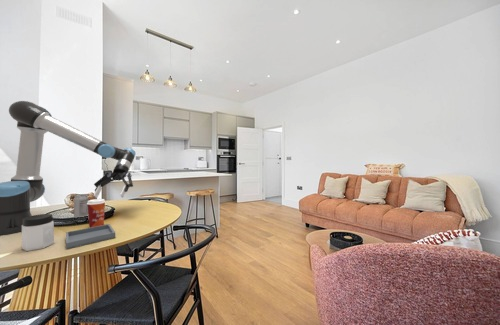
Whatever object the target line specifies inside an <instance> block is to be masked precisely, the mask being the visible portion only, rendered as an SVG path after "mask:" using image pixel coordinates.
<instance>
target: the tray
mask: <svg viewBox="0 0 500 325" xmlns="http://www.w3.org/2000/svg"><path fill="white" fill-rule="evenodd" d="M112 239H116V231H115V230H114V228H113V227H112V225H111V223H107V224H104V225H101V226H96V227H91V228H90V227H87V228H81V229H75V230H71V231H66V232H65V249H66V250H70V249H74V248H78V247H82V246H86V245H91V244H95V243H100V242H103V241H107V240H112Z"/></svg>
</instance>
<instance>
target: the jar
mask: <svg viewBox="0 0 500 325" xmlns="http://www.w3.org/2000/svg"><path fill="white" fill-rule="evenodd" d="M53 219H54V217H53V214H52V213H45V214H44V213H42V214H35V215H32V216H29V217H26V218H24V219H23V225H22V231H21V249H22V250H24V251H25V252H30V251H36V250H37V251H38V250H42V249H44V248H47V247H49V246H51V245H53V244H55V231H54V230H55V229H54V227H55V226H54V223H55V222H54V220H53Z"/></svg>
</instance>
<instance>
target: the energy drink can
mask: <svg viewBox="0 0 500 325" xmlns="http://www.w3.org/2000/svg"><path fill="white" fill-rule="evenodd" d="M88 201H89V196H88V195H87V193H80V194H75V196H74V198H73V218H74V217H84V216H87V215H88V204H87V203H88Z"/></svg>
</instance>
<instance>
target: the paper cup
mask: <svg viewBox="0 0 500 325" xmlns="http://www.w3.org/2000/svg"><path fill="white" fill-rule="evenodd" d="M106 203H107V202H106V199H104V198H95V199H90V200H89V199H88V203H87V204H88V224H89V227H88V228H91V227H96V226H101V225H105V224H104V221H105V207H106Z"/></svg>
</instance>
